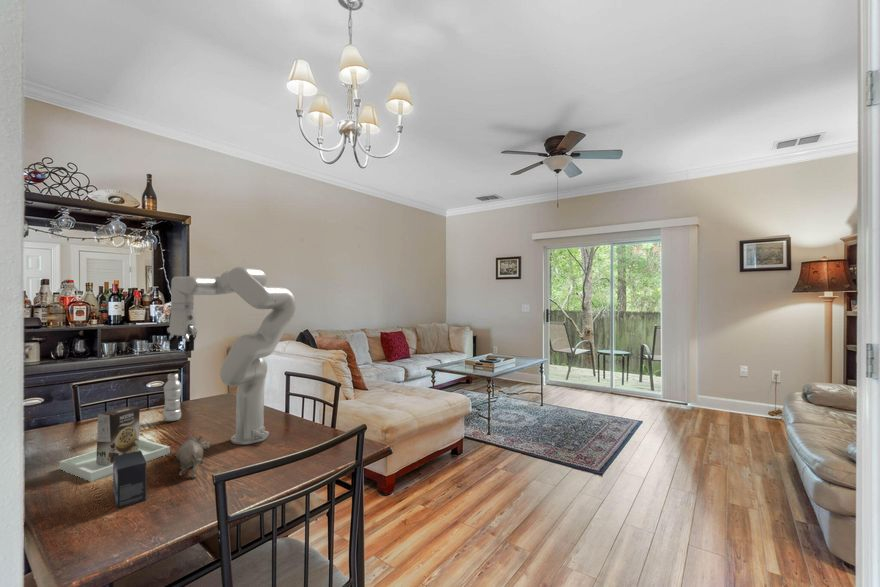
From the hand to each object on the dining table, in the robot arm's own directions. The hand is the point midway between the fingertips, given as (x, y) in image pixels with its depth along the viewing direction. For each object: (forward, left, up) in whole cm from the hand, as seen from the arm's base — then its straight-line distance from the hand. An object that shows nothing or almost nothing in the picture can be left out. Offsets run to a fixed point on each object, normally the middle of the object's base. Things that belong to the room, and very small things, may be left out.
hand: (181, 350), depth 156 cm
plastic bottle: (+15, -6, -32) cm, 36 cm away
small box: (-39, +38, -33) cm, 63 cm away
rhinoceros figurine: (-37, +19, -33) cm, 53 cm away
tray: (-11, +27, -32) cm, 44 cm away
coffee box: (-11, +27, -32) cm, 43 cm away
